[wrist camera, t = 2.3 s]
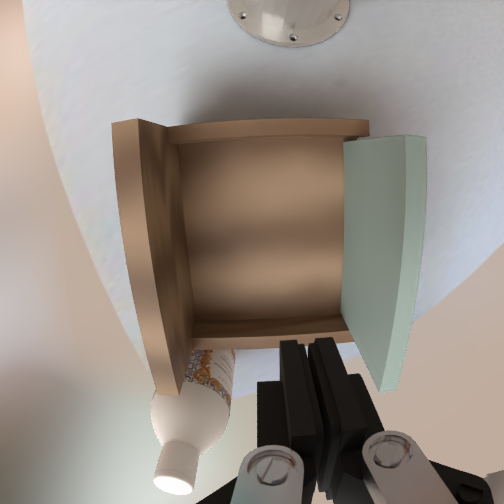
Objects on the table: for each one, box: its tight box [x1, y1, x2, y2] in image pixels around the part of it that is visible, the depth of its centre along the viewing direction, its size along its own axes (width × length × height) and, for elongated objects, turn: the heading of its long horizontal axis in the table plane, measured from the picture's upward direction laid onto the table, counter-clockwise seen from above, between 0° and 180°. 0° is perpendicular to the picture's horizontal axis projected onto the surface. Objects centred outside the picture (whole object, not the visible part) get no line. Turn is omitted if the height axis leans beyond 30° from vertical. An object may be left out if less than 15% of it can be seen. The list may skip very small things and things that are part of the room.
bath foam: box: [151, 349, 236, 495], centre depth 26 cm, size 7×7×20 cm
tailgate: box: [340, 135, 427, 393], centre depth 20 cm, size 15×2×11 cm, turn 3°
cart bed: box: [112, 118, 370, 396], centre depth 25 cm, size 18×16×15 cm
